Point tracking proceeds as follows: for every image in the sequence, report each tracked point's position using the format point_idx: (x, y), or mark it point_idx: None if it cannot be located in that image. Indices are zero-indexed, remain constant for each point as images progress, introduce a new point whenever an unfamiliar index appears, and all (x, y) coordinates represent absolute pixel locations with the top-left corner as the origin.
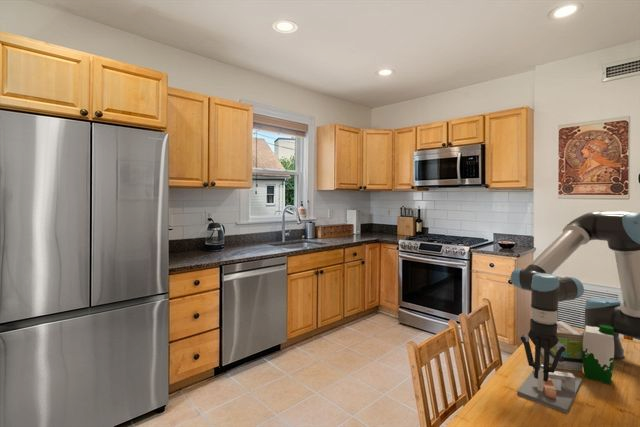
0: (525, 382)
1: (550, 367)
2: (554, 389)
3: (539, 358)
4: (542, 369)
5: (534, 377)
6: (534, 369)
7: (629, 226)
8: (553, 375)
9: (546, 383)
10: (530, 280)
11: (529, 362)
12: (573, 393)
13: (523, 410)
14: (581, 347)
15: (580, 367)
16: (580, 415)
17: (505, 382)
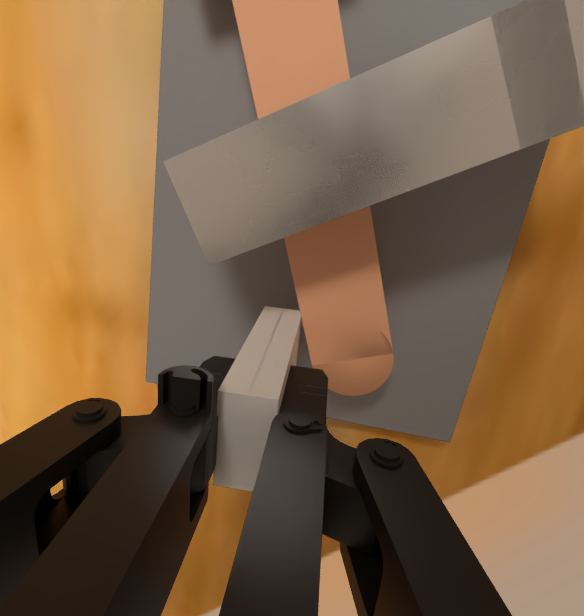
0: (163, 209)
1: (345, 505)
2: (381, 326)
3: (147, 614)
4: (251, 418)
5: (209, 35)
6: (173, 182)
7: None
8: (380, 198)
9: (315, 248)
10: None
11: (66, 521)
12: (534, 153)
13: (221, 515)
14: None
15: None
16: (522, 403)
17: (51, 246)
